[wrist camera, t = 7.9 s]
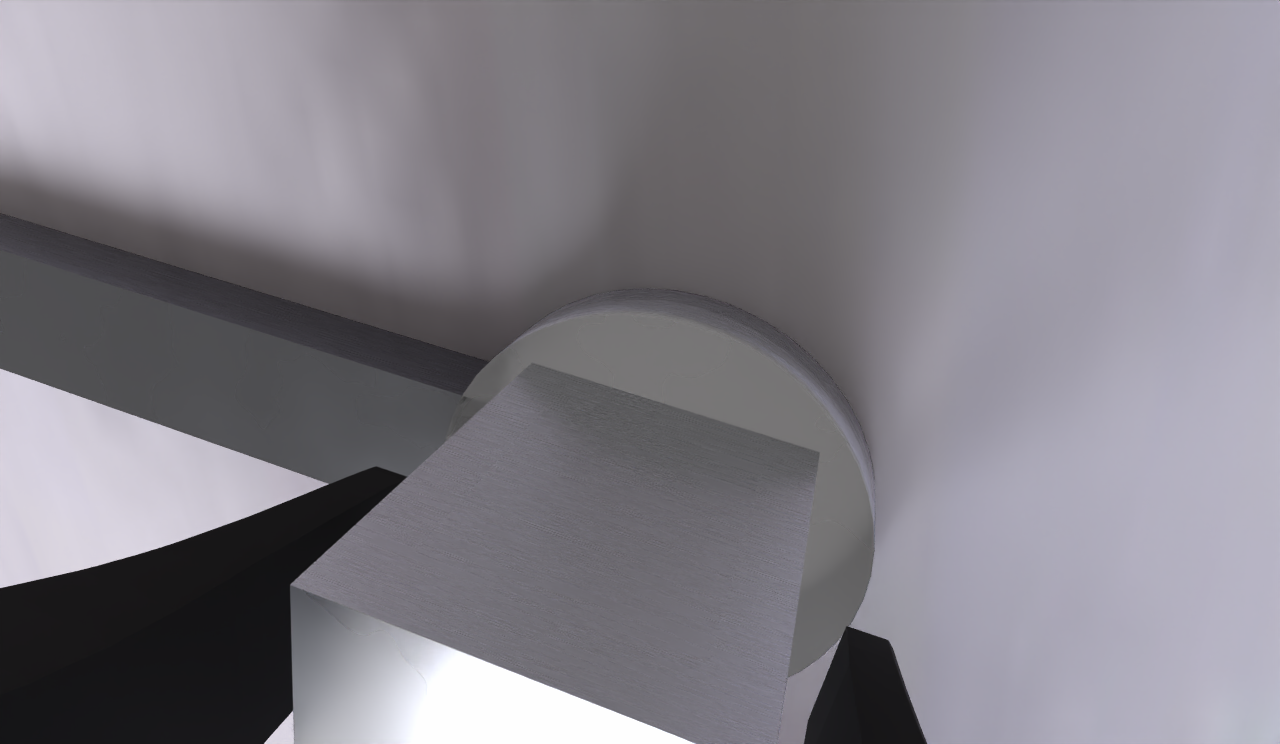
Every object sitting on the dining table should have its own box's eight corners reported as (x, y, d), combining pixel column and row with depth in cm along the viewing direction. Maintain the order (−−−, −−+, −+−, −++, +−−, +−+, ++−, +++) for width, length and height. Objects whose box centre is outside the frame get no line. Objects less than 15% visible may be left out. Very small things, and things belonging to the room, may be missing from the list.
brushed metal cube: (742, 672, 14) (661, 1044, 9) (501, 582, 15) (296, 874, 10) (820, 452, 12) (773, 773, 7) (532, 362, 13) (289, 584, 8)
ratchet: (806, 693, 16) (778, 942, 12) (17, 409, 20) (-231, 515, 15) (939, 359, 12) (972, 535, 8) (-55, 89, 16) (-404, 108, 12)
